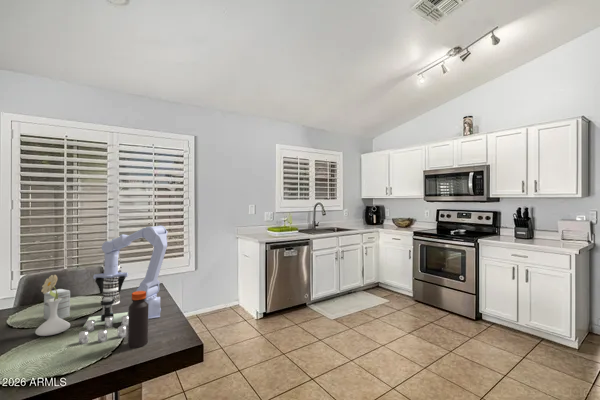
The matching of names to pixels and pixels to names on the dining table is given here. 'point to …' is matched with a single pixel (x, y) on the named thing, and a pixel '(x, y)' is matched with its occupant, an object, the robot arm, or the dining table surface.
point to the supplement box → (63, 305)
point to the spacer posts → (103, 333)
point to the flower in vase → (52, 311)
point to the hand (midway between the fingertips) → (110, 292)
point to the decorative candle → (111, 286)
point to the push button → (106, 308)
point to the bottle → (138, 320)
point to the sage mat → (116, 319)
